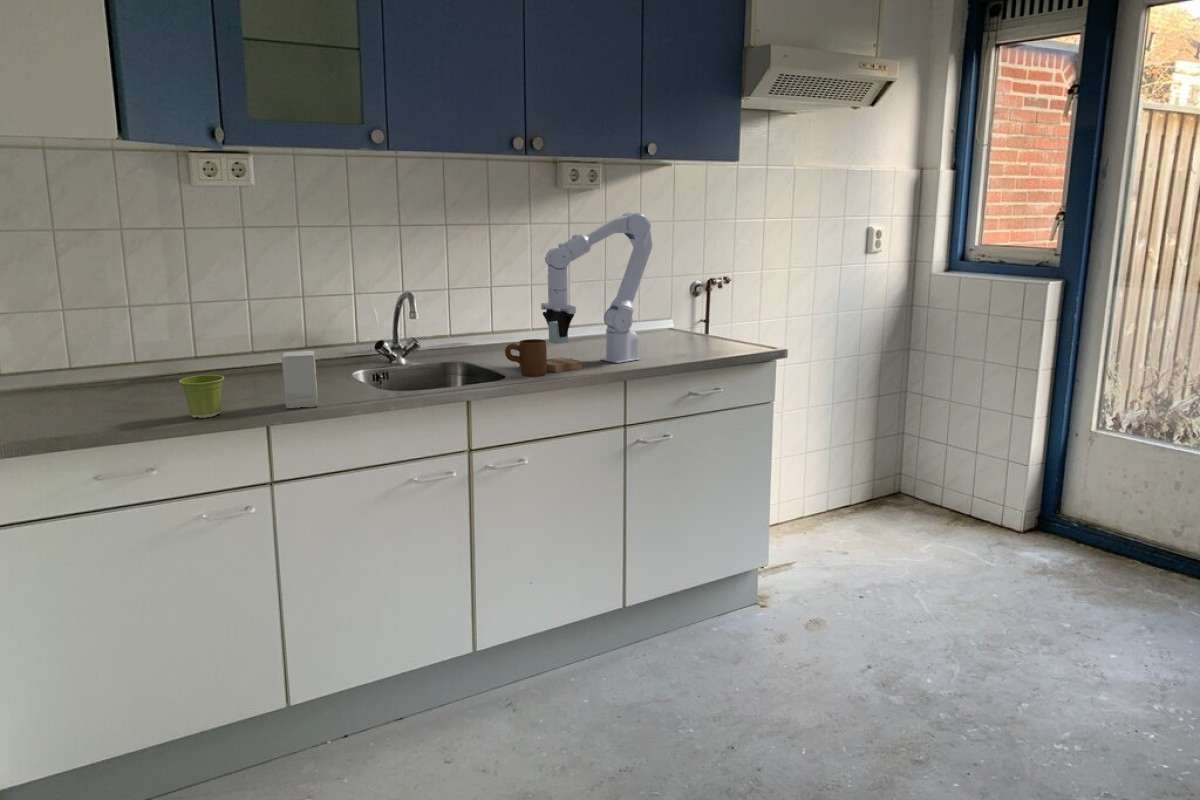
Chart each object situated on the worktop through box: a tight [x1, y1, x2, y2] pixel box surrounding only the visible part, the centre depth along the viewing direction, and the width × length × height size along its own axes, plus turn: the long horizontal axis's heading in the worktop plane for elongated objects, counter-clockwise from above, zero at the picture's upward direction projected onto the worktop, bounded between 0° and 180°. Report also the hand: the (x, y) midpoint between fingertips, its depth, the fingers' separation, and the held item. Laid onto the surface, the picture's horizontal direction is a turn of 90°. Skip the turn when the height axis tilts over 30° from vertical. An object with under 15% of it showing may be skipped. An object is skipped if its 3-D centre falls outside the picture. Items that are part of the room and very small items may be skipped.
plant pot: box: [178, 374, 225, 415], centre depth 204 cm, size 9×9×9 cm
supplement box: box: [281, 350, 318, 407], centre depth 213 cm, size 7×7×13 cm
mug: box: [504, 338, 548, 377], centre depth 248 cm, size 12×8×9 cm, turn 116°
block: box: [548, 321, 569, 345], centre depth 263 cm, size 4×4×6 cm
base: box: [547, 357, 584, 374], centre depth 259 cm, size 10×10×2 cm
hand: (558, 336), depth 263 cm, fingers closed on block, 4 cm apart
